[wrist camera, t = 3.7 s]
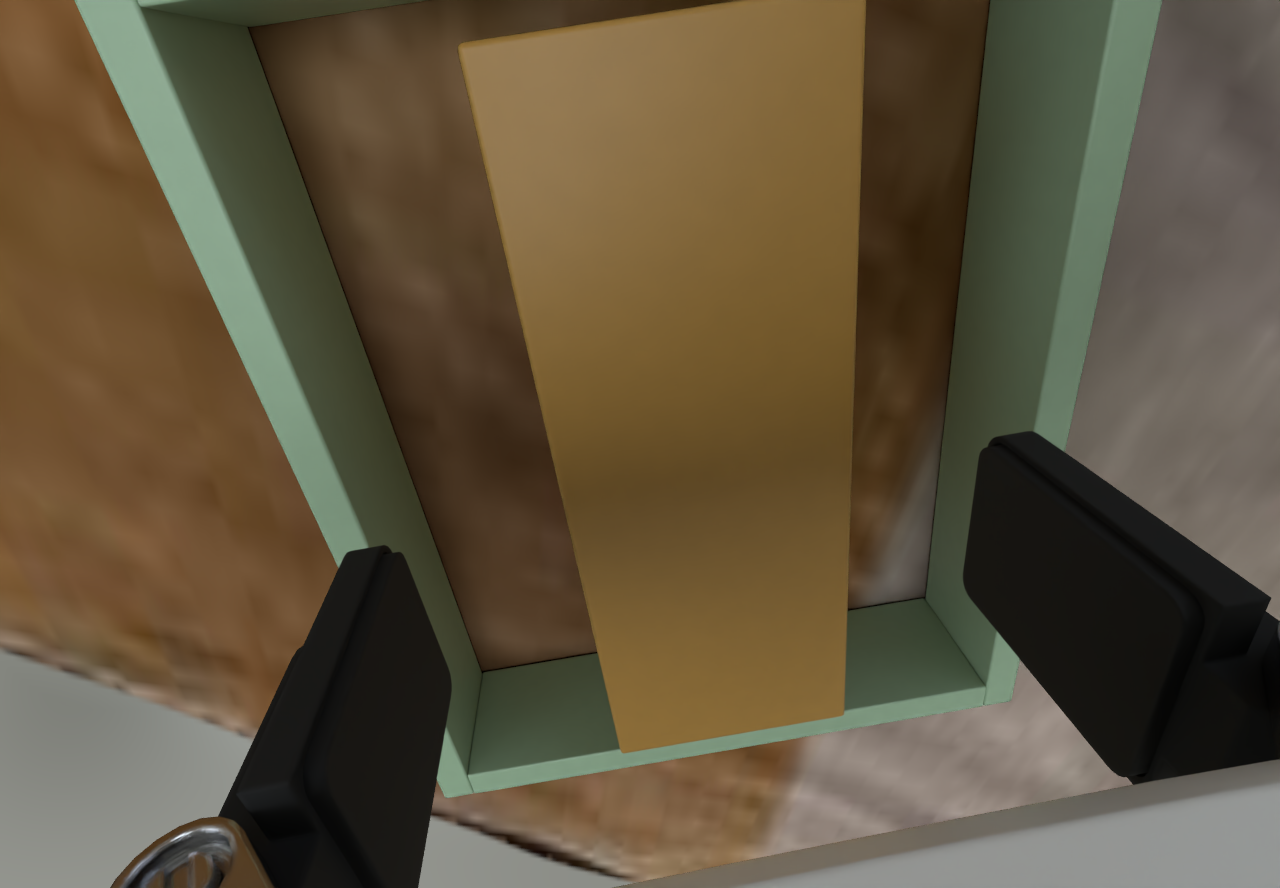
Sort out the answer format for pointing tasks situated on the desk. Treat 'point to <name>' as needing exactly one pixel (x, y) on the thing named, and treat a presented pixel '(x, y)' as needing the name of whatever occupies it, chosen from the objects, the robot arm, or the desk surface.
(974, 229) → the green rectangular open frame
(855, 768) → the desk surface
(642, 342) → the tan wooden plank
